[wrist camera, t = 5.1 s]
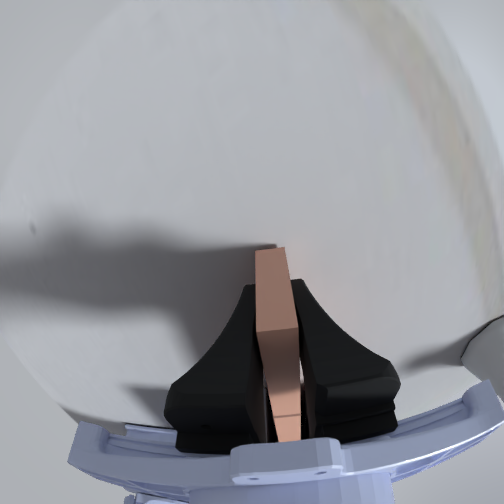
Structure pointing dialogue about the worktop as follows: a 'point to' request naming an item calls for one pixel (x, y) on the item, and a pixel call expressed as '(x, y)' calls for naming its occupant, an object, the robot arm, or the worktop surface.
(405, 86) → the worktop surface
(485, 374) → the flask
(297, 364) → the strip
